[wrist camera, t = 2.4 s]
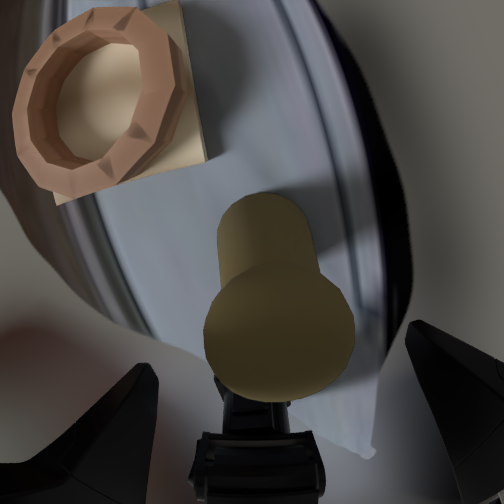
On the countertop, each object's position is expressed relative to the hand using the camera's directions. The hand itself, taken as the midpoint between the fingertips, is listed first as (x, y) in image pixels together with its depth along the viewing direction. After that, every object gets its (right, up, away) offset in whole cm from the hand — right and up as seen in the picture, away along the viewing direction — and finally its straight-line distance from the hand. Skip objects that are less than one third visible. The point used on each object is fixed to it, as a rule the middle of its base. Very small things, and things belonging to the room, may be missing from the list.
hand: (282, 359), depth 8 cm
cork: (0, +4, +9) cm, 10 cm away
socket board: (-10, +13, +5) cm, 17 cm away
